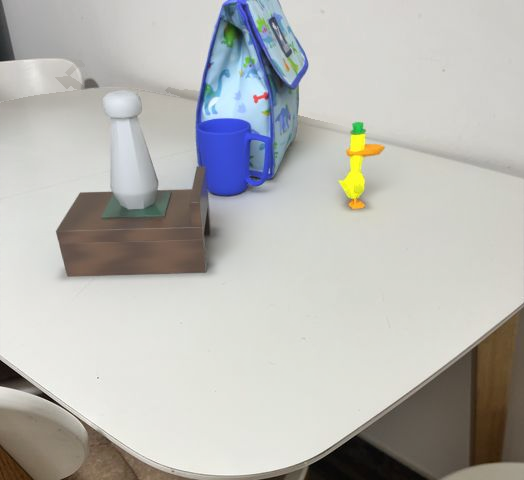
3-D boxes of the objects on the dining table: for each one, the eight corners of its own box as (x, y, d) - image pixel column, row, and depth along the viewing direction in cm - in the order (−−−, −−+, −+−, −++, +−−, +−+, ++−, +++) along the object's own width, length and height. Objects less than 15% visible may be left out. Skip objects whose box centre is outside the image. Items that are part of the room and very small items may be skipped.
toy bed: (67, 276, 70) (49, 206, 64) (89, 233, 79) (74, 169, 74) (206, 272, 70) (199, 202, 64) (211, 230, 79) (205, 166, 74)
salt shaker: (130, 216, 68) (110, 101, 60) (105, 203, 72) (84, 93, 64) (170, 202, 71) (156, 91, 64) (144, 191, 75) (128, 84, 67)
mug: (257, 207, 85) (256, 139, 79) (191, 194, 90) (185, 129, 84) (283, 189, 91) (283, 124, 85) (219, 177, 96) (215, 115, 90)
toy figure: (373, 198, 87) (381, 116, 80) (383, 207, 84) (392, 123, 77) (331, 204, 86) (336, 121, 78) (341, 213, 83) (346, 128, 76)
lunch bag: (290, 182, 93) (292, -4, 78) (193, 177, 96) (176, -4, 80) (309, 141, 110) (313, -18, 95) (226, 138, 113) (217, -17, 98)
